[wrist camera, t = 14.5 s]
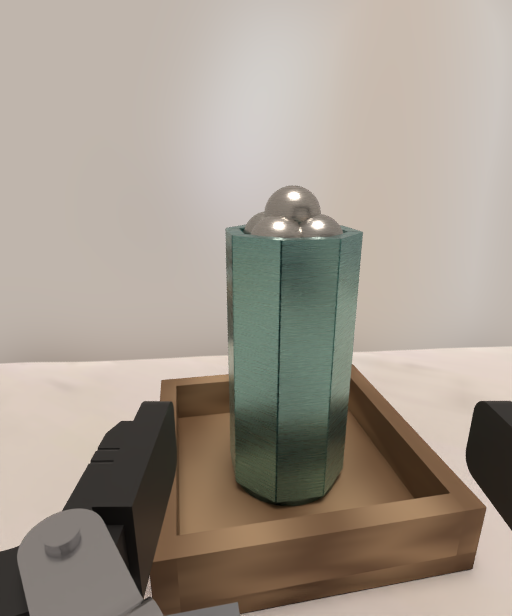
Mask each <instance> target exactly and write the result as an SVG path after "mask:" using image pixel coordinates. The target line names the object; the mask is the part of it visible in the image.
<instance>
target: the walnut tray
mask: <svg viewBox="0 0 512 616" xmlns="http://www.w3.org/2000/svg"><path fill="white" fill-rule="evenodd" d="M160 401H172V403H173V406H174V417H175V431H176V445H177V465H176V473H175V478H174V482H173V486H172V490H171V494H170V497H169V501H168V505H167V509H166V513H165V517H164V521H163V525H162V529H161V533H160V536H159V540H158V544H157V548H156V552H155V556H154V560H153V564H152V568H151V572H150V581H151V590H152V599H153V600H154V601H155V602H156V604H157V605H158V607H159V608H160V610H161V612H162V614H163V616H166V615H171V614H177V613H182V612H187V611H193V610H198V609H203V608H209V607H214V606H219V605H224V604H230V603H235V602H238V606H239V613H246V612H251V611H256V610H261V609H266V608H271V607H277V606H282V605H287V604H292V603H297V602H302V601H308V600H313V599H318V598H323V597H328V596H333V595H338V594H344V593H349V592H354V591H359V590H364V589H369V588H375V587H380V586H385V585H390V584H395V583H400V582H406V581H411V580H416V579H421V578H426V577H431V576H437V575H442V574H447V573H452V572H457V571H462V570H468V569H473V564H474V560H475V555H476V551H477V547H478V542H479V538H480V534H481V529H482V525H483V521H484V516H485V512H486V506H485V505H484V504H483V503H482V502H481V501H480V500H479V499H478V498H477V497H476V496H475V495H474V493H473V492H472V491H471V490H470V489H469V488H468V487H467V486H466V485H465V484H464V483H463V482H462V481H461V480H460V478H459V477H458V476H457V475H456V474H455V473H454V472H453V471H452V470H451V469H450V468H449V467H448V466H447V465H446V464H445V462H444V461H443V460H442V459H441V458H440V457H439V456H438V455H437V454H436V453H435V452H434V451H433V450H432V449H431V447H430V446H429V445H428V444H427V443H426V442H425V441H424V440H423V439H422V438H421V437H420V436H419V435H418V434H417V432H416V431H415V430H414V429H413V428H412V427H411V426H410V425H409V424H408V423H407V422H406V421H405V420H404V419H403V418H402V416H401V415H400V414H399V413H398V412H397V411H396V410H395V409H394V408H393V407H392V406H391V405H390V404H389V403H388V401H387V400H386V399H385V398H384V397H383V396H382V395H381V394H380V393H379V392H378V391H377V390H376V389H375V388H374V387H373V385H372V384H371V383H370V382H369V381H368V380H367V379H366V378H365V377H364V376H363V375H362V374H361V373H360V372H359V370H358V369H357V368H356V367H355V366H354V365H353V364H352V366H351V378H350V389H349V401H348V413H347V425H346V437H345V448H344V460H343V469H342V470H341V472H340V473H339V475H338V476H337V478H336V479H335V482H334V485H333V486H332V488H331V489H330V491H329V492H328V493H327V494H326V495H324V496H323V497H322V498H320V499H318V500H316V501H314V502H312V503H309V504H305V505H300V506H277V505H272V504H268V503H265V502H262V501H260V500H258V499H256V498H254V497H253V496H251V495H250V494H248V493H247V492H246V491H245V490H244V489H243V488H242V487H241V485H240V484H239V483H237V481H236V480H235V474H234V469H233V464H232V458H231V453H230V411H229V374H227V375H215V376H204V377H192V378H181V379H169V380H161V394H160Z"/></svg>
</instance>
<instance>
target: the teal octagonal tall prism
mask: <svg viewBox="0 0 512 616" xmlns="http://www.w3.org/2000/svg"><path fill="white" fill-rule="evenodd" d="M362 236H363V232H361V231H358V230H355V229H352V228H348V227H345V226H340V225H339V224H338V223H337V222H336V221H335V220H334V219H332V218H331V217H329V216H326V215H322V214H321V211H320V206H319V203H318V201H317V199H316V197H315V196H314V195H313V194H312V193H311V192H310V191H309V190H307V189H305V188H303V187H300V186H286V187H283V188H281V189H279V190H277V191H276V192H275V193H274V194H273V195H272V196H271V197H270V198H269V200H268V202H267V204H266V207H265V212H261V213H258V214H256V215H255V216H253V217H252V218H251V219H250V220H249V221H248V223H247V224H246V225H242V226H235V227H229V228H226V269H227V315H228V316H227V317H228V318H227V319H228V365H229V411H230V453H231V458H232V464H233V469H234V474H235V480H236V481H237V483H239V484H240V485H241V487H242V488H243V489H244V490H245V491H246V492H247V493H248V494H250V495H251V496H253V497H254V498H256V499H258V500H260V501H262V502H265V503H268V504H272V505H277V506H300V505H305V504H309V503H312V502H314V501H316V500H318V499H320V498H322V497H323V496H324V495H326V494H327V493H328V492H329V491H330V489H331V488H332V486H333V485H334V482H335V479H336V478H337V476H338V475H339V473H340V472H341V470H342V469H343V460H344V448H345V437H346V425H347V413H348V401H349V389H350V378H351V366H352V354H353V342H354V330H355V318H356V307H357V294H358V283H359V270H360V259H361V248H362Z"/></svg>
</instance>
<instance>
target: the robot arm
mask: <svg viewBox="0 0 512 616" xmlns="http://www.w3.org/2000/svg"><path fill="white" fill-rule="evenodd" d="M466 462H467V466H468V469H469V472H470V474H471V475H472V477H473V478H474V480H475V481H476V482H477V484H478V485H479V486H480V488H481V489H482V491H483V492H484V493H485V495H486V496H487V497H488V499H489V500H490V501H491V503H492V504H493V506H494V507H495V508H496V510H497V511H498V512H499V514H500V515H501V516H502V518H503V519H504V521H505V522H506V523H507V525H508V526H509V527H510V529H511V530H512V402H511V401H480V402H478V403H477V404H476V405H475V408H474V412H473V417H472V422H471V427H470V432H469V437H468V442H467V447H466ZM176 465H177V445H176V431H175V417H174V406H173V403H172V401H144V402H143V403H142V404H141V406H140V408H139V410H138V412H137V414H136V416H135V418H134V421H121V422H119V423H118V424H117V425H116V426H115V427H113V428H112V429H111V430H110V431H108V432H107V433H106V434H105V436H104V438H103V440H102V441H101V443H100V445H99V447H98V451H96V452H95V454H94V456H93V457H92V459H91V463H90V464H88V466H87V468H86V470H85V471H84V473H83V475H82V477H81V478H80V480H79V482H78V484H77V486H76V487H75V489H74V491H73V493H72V494H71V496H70V498H69V500H68V501H67V503H66V505H65V507H64V508H63V510H62V511H61V512H59V513H56V514H53V515H51V516H49V517H48V518H46V519H44V520H43V521H41V522H40V523H38V524H37V525H36V526H35V527H33V528H32V529H31V530H30V531H29V532H28V534H27V535H26V536H25V537H24V539H23V541H22V542H21V544H20V546H17V547H15V548H12V549H9V550H5V551H1V552H0V616H163V614H162V612H161V610H160V608H159V607H158V605H157V604H156V602H155V601H154V600H153V599H152V598H151V597H148V598H146V599H145V600H144V595H145V591H146V587H147V583H148V579H149V575H150V572H151V568H152V564H153V560H154V556H155V552H156V548H157V544H158V540H159V536H160V533H161V529H162V525H163V521H164V517H165V513H166V509H167V505H168V501H169V497H170V494H171V490H172V486H173V482H174V478H175V473H176Z"/></svg>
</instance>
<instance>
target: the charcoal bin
mask: <svg viewBox="0 0 512 616" xmlns="http://www.w3.org/2000/svg"><path fill="white" fill-rule="evenodd" d="M166 616H240V613H239V606H238V602H235V603H230V604H224V605H219V606H214V607H209V608H203V609H198V610H193V611H187V612H182V613H177V614H171V615H166Z"/></svg>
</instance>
